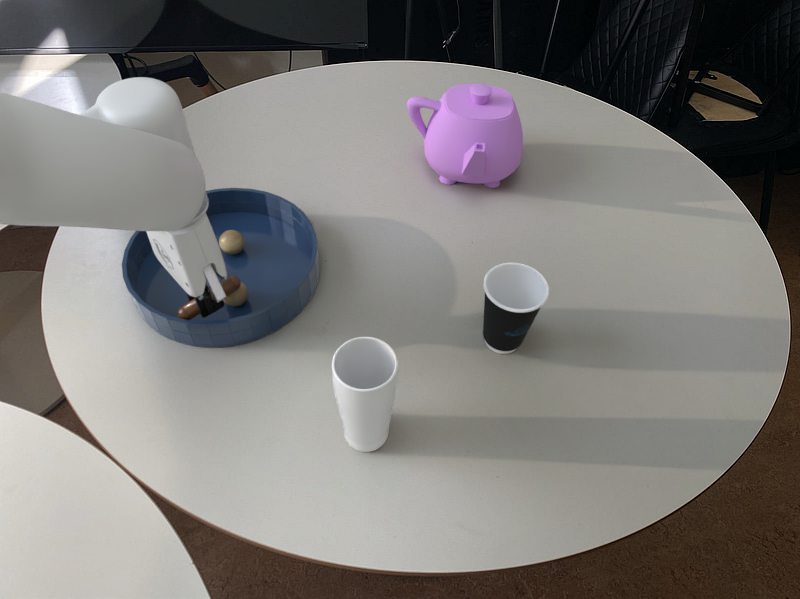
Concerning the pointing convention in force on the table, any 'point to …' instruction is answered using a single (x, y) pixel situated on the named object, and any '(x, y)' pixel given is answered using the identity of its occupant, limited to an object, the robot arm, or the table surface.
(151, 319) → the tray
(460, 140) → the teapot
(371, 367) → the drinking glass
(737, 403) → the table surface
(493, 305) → the dixie cup
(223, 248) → the bead
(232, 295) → the bead
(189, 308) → the stick
